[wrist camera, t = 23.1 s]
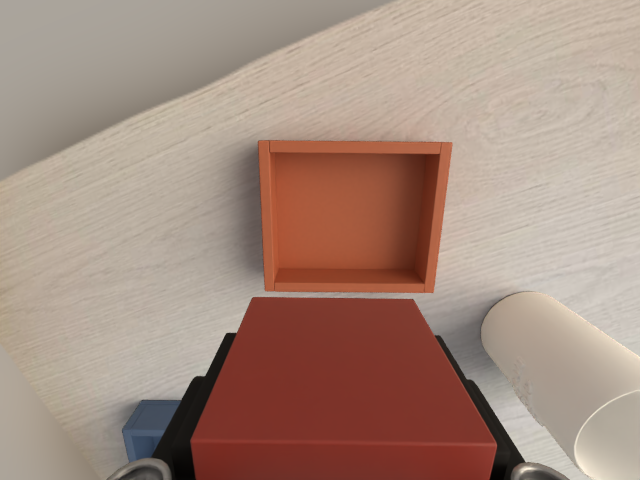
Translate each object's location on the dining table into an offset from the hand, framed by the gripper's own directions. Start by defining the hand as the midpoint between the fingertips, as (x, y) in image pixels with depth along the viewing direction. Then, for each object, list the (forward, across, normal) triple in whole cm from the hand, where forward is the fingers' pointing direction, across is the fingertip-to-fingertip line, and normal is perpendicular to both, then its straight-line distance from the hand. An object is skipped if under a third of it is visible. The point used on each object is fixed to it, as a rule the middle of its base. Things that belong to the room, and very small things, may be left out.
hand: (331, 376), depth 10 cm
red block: (+1, 0, 0) cm, 1 cm away
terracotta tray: (+19, -2, -1) cm, 19 cm away
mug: (+19, -20, +12) cm, 30 cm away
